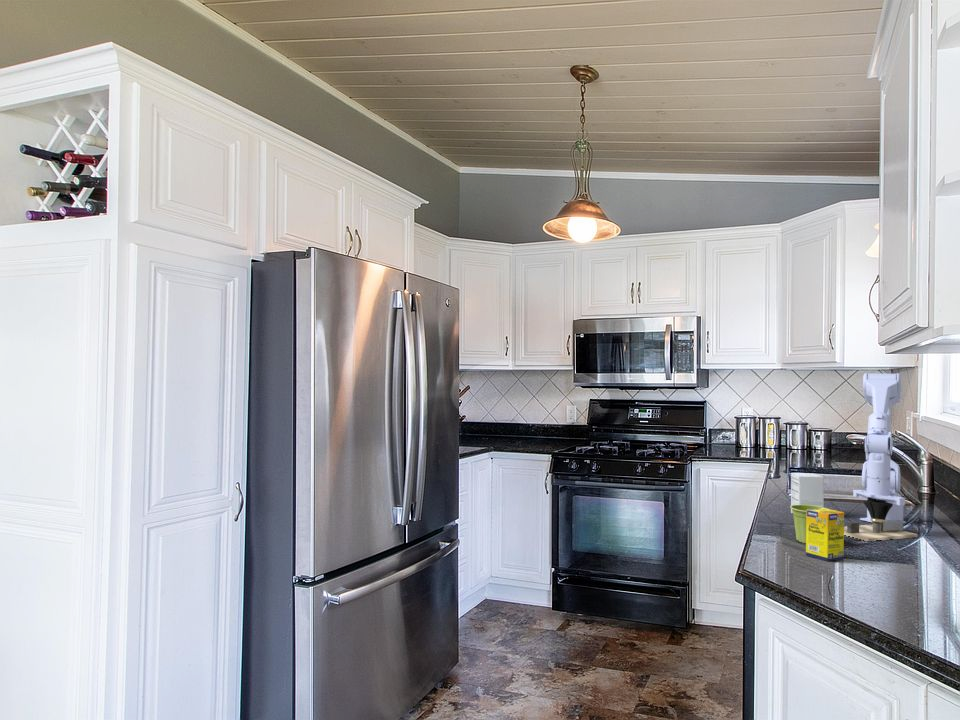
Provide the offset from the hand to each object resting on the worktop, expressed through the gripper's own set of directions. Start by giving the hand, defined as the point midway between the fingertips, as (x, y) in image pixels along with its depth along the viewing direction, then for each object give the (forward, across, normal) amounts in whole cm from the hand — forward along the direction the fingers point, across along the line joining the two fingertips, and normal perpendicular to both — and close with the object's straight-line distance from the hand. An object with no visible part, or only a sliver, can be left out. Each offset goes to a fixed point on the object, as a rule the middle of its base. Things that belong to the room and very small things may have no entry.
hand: (878, 527), depth 192 cm
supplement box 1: (+2, -24, -1) cm, 24 cm away
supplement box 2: (+2, +16, -37) cm, 41 cm away
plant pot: (+2, +3, -28) cm, 28 cm away
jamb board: (+1, +1, -4) cm, 4 cm away
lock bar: (0, +3, 0) cm, 3 cm away
